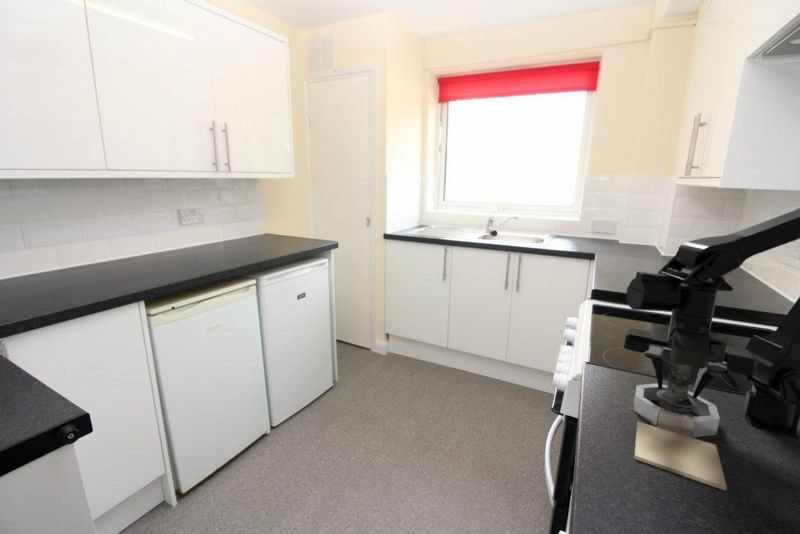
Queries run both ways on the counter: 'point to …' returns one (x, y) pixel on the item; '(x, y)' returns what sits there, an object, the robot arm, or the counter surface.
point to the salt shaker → (677, 390)
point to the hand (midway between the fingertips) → (676, 392)
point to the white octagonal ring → (674, 421)
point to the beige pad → (679, 454)
